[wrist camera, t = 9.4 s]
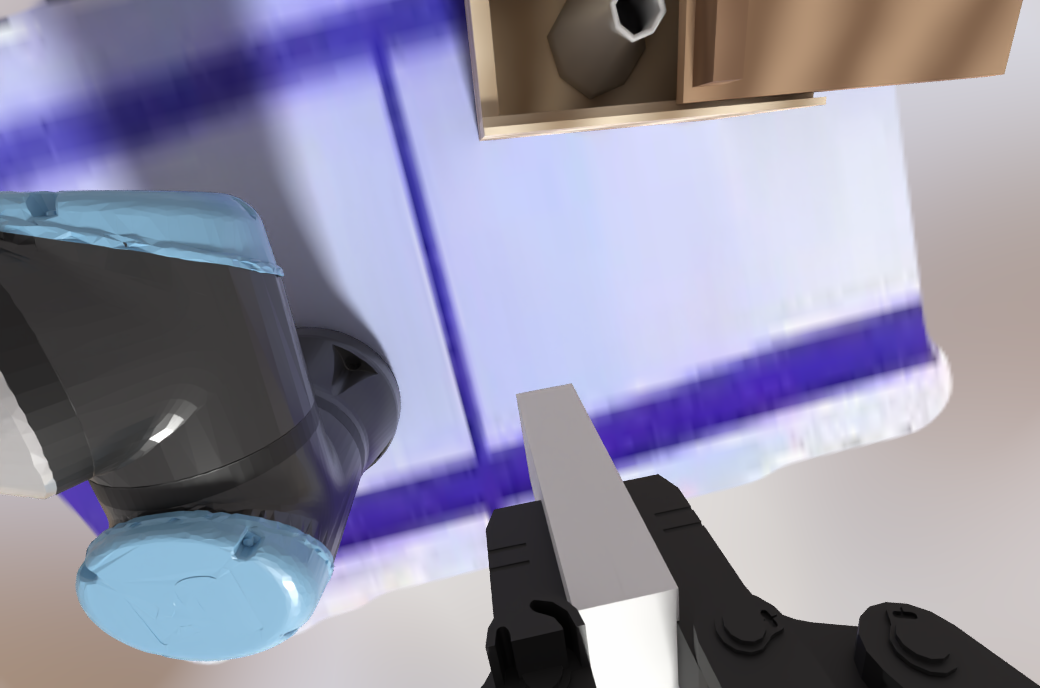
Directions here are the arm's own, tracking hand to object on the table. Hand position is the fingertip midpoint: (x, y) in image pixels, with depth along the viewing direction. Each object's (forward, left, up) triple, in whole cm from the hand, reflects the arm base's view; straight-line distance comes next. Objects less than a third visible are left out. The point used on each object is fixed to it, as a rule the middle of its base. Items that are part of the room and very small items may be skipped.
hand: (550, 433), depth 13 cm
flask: (+9, +14, -31) cm, 35 cm away
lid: (+21, +14, -19) cm, 32 cm away
